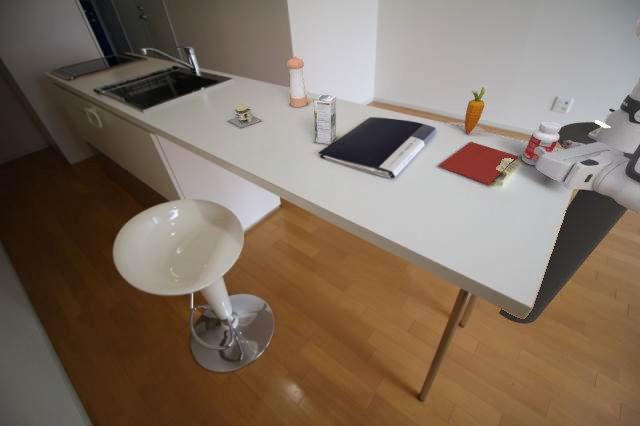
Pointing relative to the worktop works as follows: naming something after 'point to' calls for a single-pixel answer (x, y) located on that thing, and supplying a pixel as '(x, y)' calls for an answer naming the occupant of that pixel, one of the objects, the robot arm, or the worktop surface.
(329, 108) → the syrup box
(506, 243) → the worktop surface
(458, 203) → the worktop surface
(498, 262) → the worktop surface
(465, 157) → the red pad
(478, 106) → the carrot
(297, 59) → the pepper shaker
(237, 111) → the stacked layers on plate
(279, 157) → the worktop surface
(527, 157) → the pill bottle
